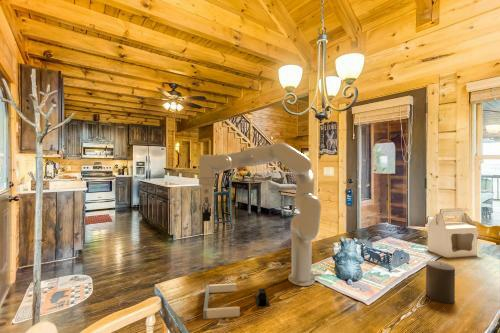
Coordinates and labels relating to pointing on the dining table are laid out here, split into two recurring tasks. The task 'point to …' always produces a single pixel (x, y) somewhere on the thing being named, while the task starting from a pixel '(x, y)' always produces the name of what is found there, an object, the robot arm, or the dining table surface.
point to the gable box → (461, 233)
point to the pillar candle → (440, 281)
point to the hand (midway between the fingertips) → (207, 218)
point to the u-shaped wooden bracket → (224, 310)
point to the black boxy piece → (262, 298)
